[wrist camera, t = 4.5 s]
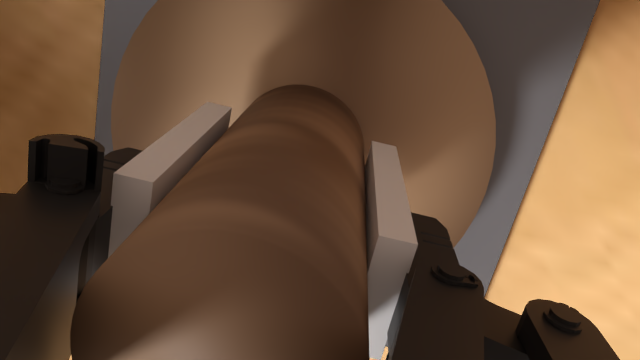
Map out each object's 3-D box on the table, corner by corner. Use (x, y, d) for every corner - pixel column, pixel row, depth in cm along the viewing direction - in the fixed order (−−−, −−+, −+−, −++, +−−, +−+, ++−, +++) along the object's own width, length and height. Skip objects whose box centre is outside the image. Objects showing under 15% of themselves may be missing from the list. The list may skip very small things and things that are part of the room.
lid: (108, 257, 21) (-175, 562, 10) (142, -102, 17) (-306, -280, 5) (427, 331, 21) (500, 715, 10) (545, -5, 17) (919, 14, 6)
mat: (88, 269, 23) (84, 273, 22) (122, -159, 17) (117, -162, 17) (456, 357, 23) (458, 363, 22) (611, -42, 17) (616, -43, 17)
